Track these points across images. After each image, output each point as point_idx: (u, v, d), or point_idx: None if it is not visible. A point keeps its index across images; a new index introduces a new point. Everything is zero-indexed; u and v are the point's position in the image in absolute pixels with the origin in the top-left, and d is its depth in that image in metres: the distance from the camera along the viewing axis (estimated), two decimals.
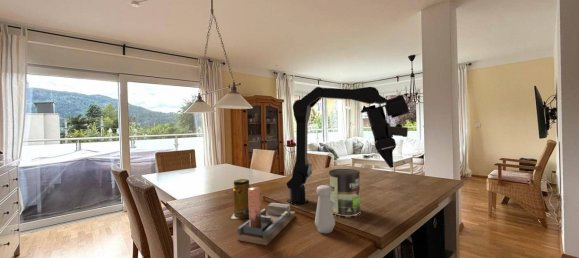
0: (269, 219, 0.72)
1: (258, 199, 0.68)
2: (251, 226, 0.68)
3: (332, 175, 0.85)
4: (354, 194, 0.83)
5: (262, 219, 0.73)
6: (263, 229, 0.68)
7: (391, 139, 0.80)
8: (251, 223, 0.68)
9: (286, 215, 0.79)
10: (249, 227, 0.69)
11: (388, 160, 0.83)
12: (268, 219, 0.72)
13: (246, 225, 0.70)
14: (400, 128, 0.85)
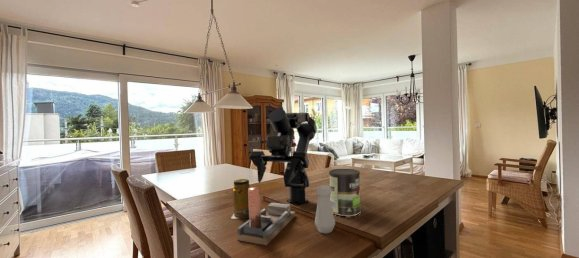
0: (269, 219, 0.72)
1: (258, 199, 0.68)
2: (251, 226, 0.68)
3: (332, 175, 0.85)
4: (354, 194, 0.83)
5: (262, 219, 0.73)
6: (263, 229, 0.68)
7: None
8: (251, 223, 0.68)
9: (286, 215, 0.79)
10: (249, 227, 0.69)
11: None
12: (268, 219, 0.72)
13: (246, 225, 0.70)
14: None
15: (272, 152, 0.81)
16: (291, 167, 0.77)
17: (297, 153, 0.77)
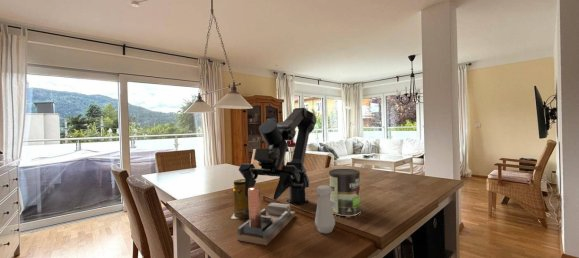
0: (269, 219, 0.72)
1: (258, 199, 0.68)
2: (251, 226, 0.68)
3: (332, 175, 0.85)
4: (354, 194, 0.83)
5: (262, 219, 0.73)
6: (263, 229, 0.68)
7: None
8: (251, 223, 0.68)
9: (286, 215, 0.79)
10: (249, 227, 0.69)
11: None
12: (268, 219, 0.72)
13: (246, 225, 0.70)
14: None
15: (262, 165, 0.78)
16: (279, 182, 0.72)
17: (286, 167, 0.73)
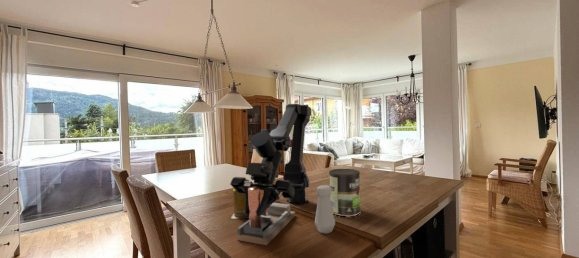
0: (269, 219, 0.72)
1: (258, 199, 0.68)
2: (251, 226, 0.68)
3: (332, 175, 0.85)
4: (354, 194, 0.83)
5: (262, 219, 0.73)
6: (263, 229, 0.68)
7: None
8: (251, 223, 0.68)
9: (286, 215, 0.79)
10: (249, 227, 0.69)
11: None
12: (268, 219, 0.72)
13: (246, 225, 0.70)
14: None
15: (254, 179, 0.73)
16: (264, 197, 0.69)
17: (280, 182, 0.69)
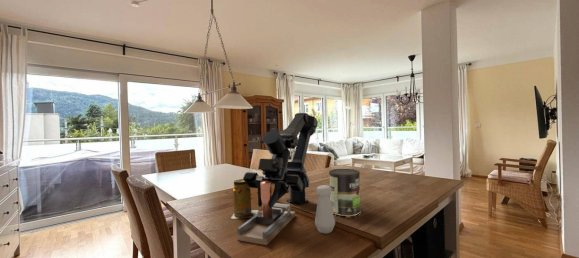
0: (279, 210, 0.78)
1: (270, 192, 0.75)
2: (263, 216, 0.75)
3: (332, 175, 0.85)
4: (354, 194, 0.83)
5: (273, 211, 0.79)
6: (274, 219, 0.74)
7: None
8: (264, 213, 0.75)
9: (286, 215, 0.79)
10: (261, 217, 0.75)
11: None
12: (278, 210, 0.78)
13: (258, 216, 0.76)
14: None
15: (266, 174, 0.80)
16: (275, 190, 0.76)
17: (290, 177, 0.75)
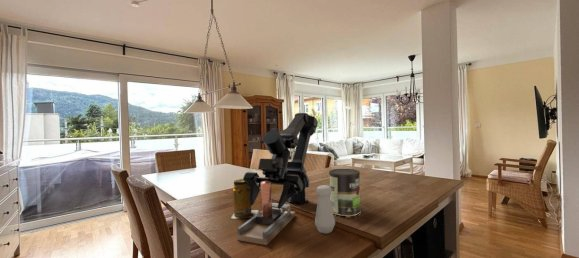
0: (279, 210, 0.78)
1: (270, 192, 0.75)
2: (263, 216, 0.75)
3: (332, 175, 0.85)
4: (354, 194, 0.83)
5: (273, 211, 0.79)
6: (274, 219, 0.74)
7: None
8: (264, 213, 0.75)
9: (286, 215, 0.79)
10: (261, 217, 0.75)
11: None
12: (278, 210, 0.78)
13: (258, 216, 0.76)
14: None
15: (266, 174, 0.80)
16: (283, 191, 0.75)
17: (290, 177, 0.75)
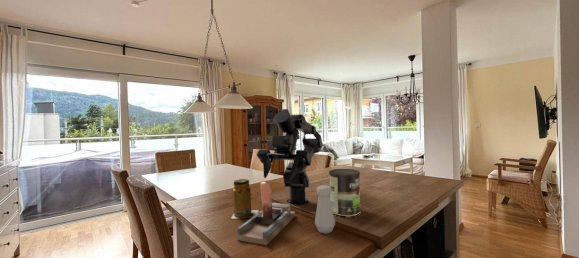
0: (279, 210, 0.78)
1: (270, 192, 0.75)
2: (263, 216, 0.75)
3: (332, 175, 0.85)
4: (354, 194, 0.83)
5: (273, 211, 0.79)
6: (274, 219, 0.74)
7: None
8: (264, 213, 0.75)
9: (286, 215, 0.79)
10: (261, 217, 0.75)
11: None
12: (278, 210, 0.78)
13: (258, 216, 0.76)
14: None
15: (277, 150, 0.88)
16: (294, 164, 0.83)
17: (300, 151, 0.84)
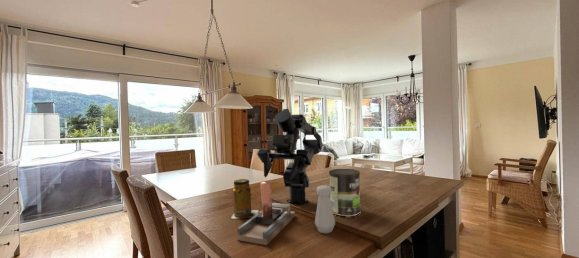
0: (279, 210, 0.78)
1: (270, 192, 0.75)
2: (263, 216, 0.75)
3: (332, 175, 0.85)
4: (354, 194, 0.83)
5: (273, 211, 0.79)
6: (274, 219, 0.74)
7: None
8: (264, 213, 0.75)
9: (286, 215, 0.79)
10: (261, 217, 0.75)
11: None
12: (278, 210, 0.78)
13: (258, 216, 0.76)
14: None
15: (278, 150, 0.88)
16: (294, 163, 0.83)
17: (300, 151, 0.84)
